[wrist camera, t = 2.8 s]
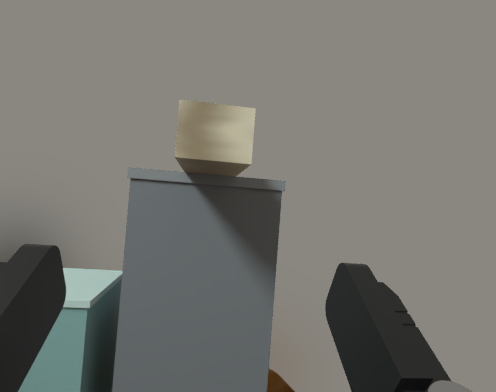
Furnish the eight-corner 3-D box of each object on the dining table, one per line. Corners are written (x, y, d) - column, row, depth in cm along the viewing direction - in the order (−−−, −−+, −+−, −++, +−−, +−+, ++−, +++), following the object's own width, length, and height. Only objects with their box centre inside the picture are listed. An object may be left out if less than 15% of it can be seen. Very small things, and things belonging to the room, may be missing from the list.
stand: (90, 596, 24) (128, 167, 25) (131, 456, 38) (154, 179, 38) (255, 584, 26) (285, 181, 27) (238, 454, 39) (259, 187, 40)
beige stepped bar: (154, 155, 17) (163, 58, 17) (182, 181, 39) (186, 139, 39) (269, 165, 18) (276, 73, 18) (233, 185, 39) (236, 144, 40)
